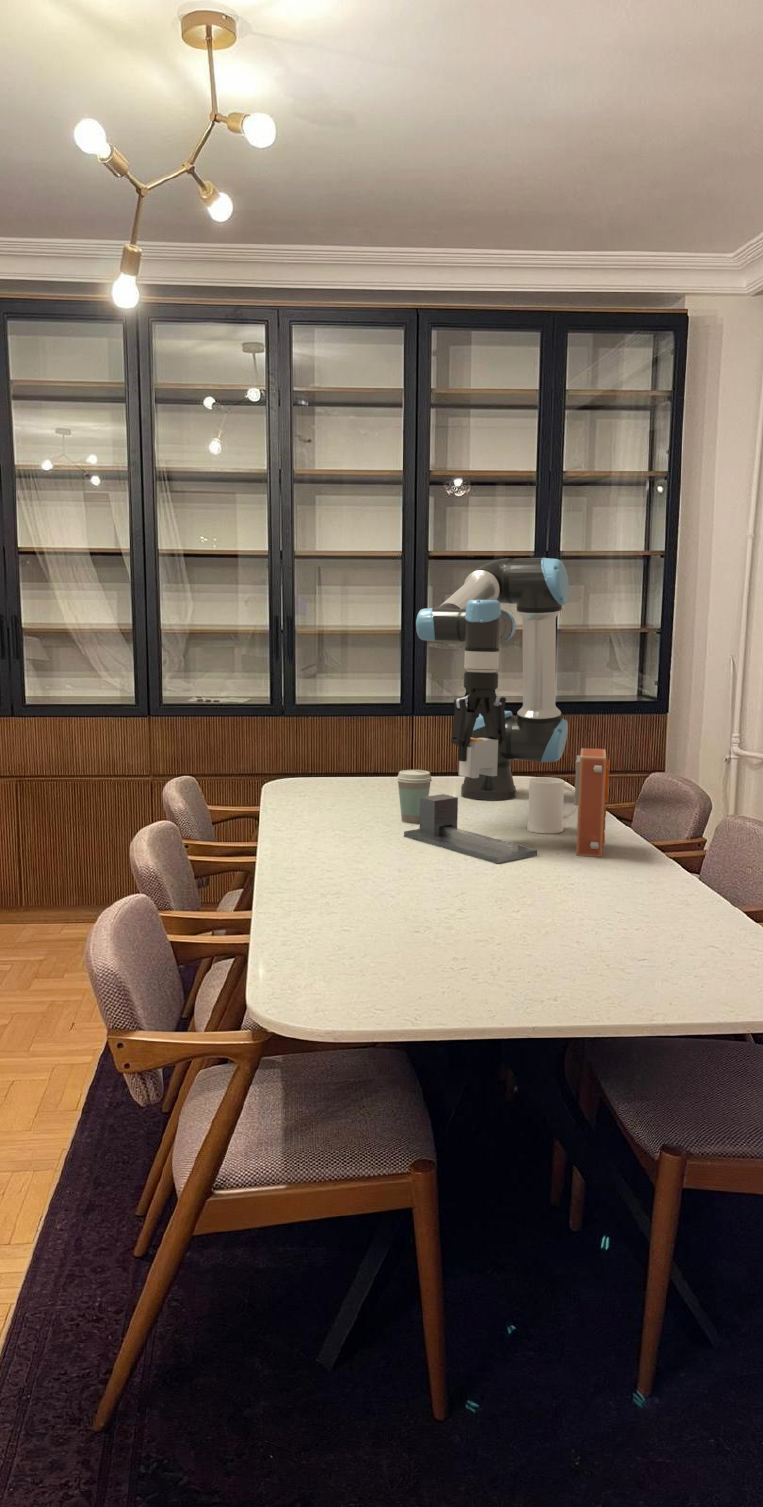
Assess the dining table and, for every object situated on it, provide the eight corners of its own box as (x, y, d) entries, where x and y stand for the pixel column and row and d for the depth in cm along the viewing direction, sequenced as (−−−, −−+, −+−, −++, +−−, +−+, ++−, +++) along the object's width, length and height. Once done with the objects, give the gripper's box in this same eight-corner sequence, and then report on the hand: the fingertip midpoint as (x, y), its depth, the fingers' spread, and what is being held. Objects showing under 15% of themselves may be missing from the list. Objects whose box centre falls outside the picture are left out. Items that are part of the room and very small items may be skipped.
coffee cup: (431, 824, 250) (432, 775, 248) (396, 824, 250) (396, 774, 248) (430, 817, 258) (431, 769, 256) (396, 816, 258) (396, 769, 257)
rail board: (403, 836, 237) (404, 796, 235) (443, 829, 244) (444, 791, 243) (497, 863, 214) (498, 819, 212) (537, 855, 221) (538, 812, 220)
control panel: (604, 842, 233) (605, 858, 219) (573, 841, 235) (571, 856, 220) (609, 748, 230) (609, 758, 215) (576, 747, 231) (575, 757, 217)
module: (458, 775, 230) (459, 737, 229) (481, 772, 235) (482, 736, 233) (473, 778, 226) (475, 740, 225) (497, 775, 231) (498, 738, 230)
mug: (574, 826, 249) (576, 777, 248) (579, 834, 241) (581, 783, 239) (525, 825, 250) (526, 776, 248) (528, 833, 241) (530, 782, 240)
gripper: (501, 669, 236) (498, 769, 239) (435, 670, 224) (432, 775, 227) (525, 671, 231) (521, 773, 234) (458, 672, 218) (455, 780, 221)
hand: (477, 774), depth 230 cm, fingers closed on module, 7 cm apart
